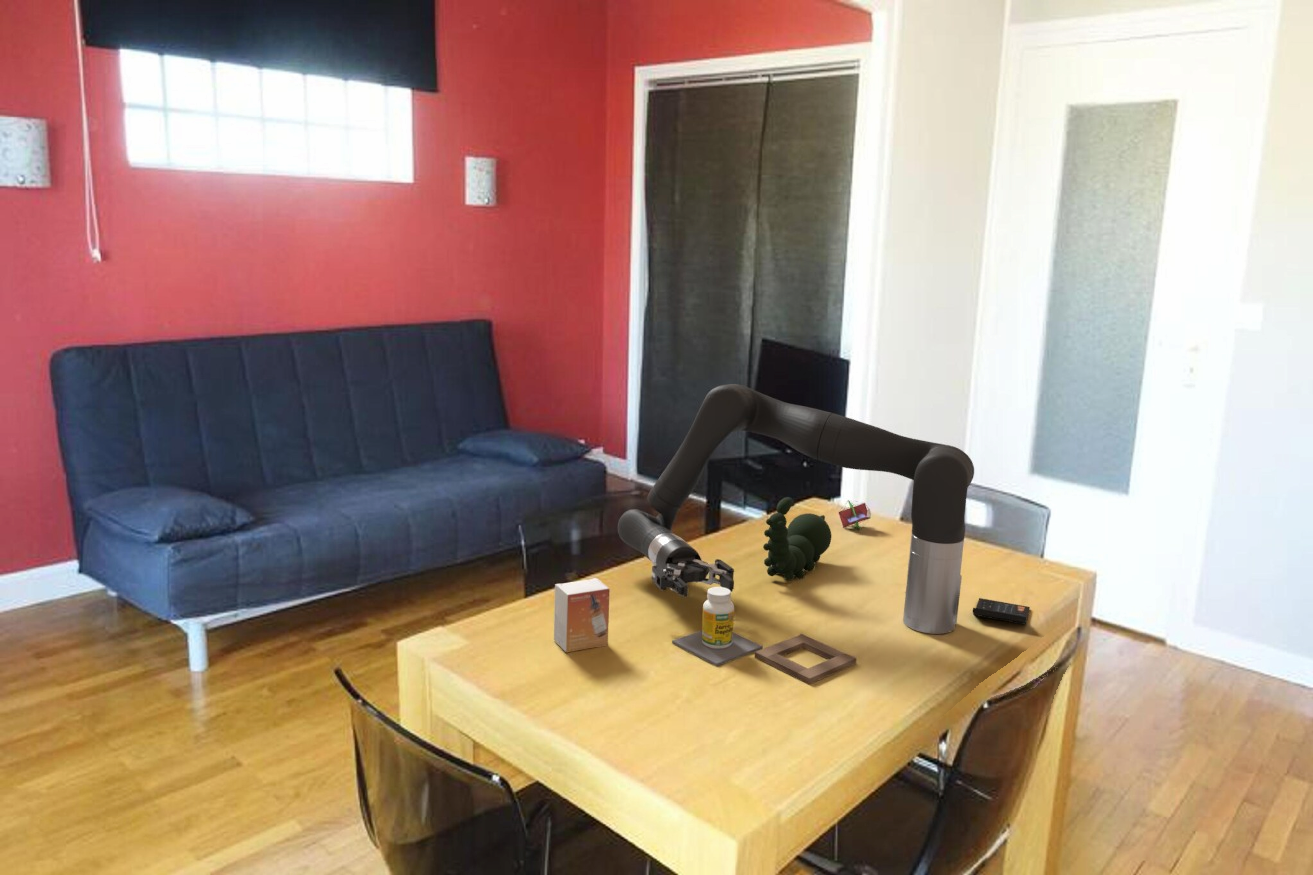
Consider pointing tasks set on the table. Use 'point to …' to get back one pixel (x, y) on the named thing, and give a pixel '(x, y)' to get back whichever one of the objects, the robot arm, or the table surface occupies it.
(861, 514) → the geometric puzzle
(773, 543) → the toy figurine
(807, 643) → the walnut dock
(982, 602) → the black flat block
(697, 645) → the charcoal mat
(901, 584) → the table surface
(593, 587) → the small box
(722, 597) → the supplement bottle
